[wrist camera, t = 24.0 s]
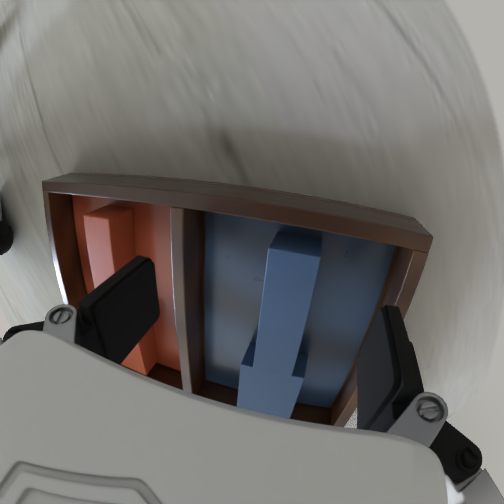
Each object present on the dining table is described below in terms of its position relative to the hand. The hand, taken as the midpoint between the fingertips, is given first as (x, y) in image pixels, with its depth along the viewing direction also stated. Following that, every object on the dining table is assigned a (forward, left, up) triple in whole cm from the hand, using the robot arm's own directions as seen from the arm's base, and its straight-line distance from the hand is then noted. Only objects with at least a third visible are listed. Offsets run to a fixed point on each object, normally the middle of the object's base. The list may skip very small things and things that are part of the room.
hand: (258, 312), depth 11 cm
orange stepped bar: (+5, -11, -5) cm, 13 cm away
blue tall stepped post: (+5, +1, -5) cm, 7 cm away
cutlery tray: (+5, -5, -6) cm, 9 cm away
